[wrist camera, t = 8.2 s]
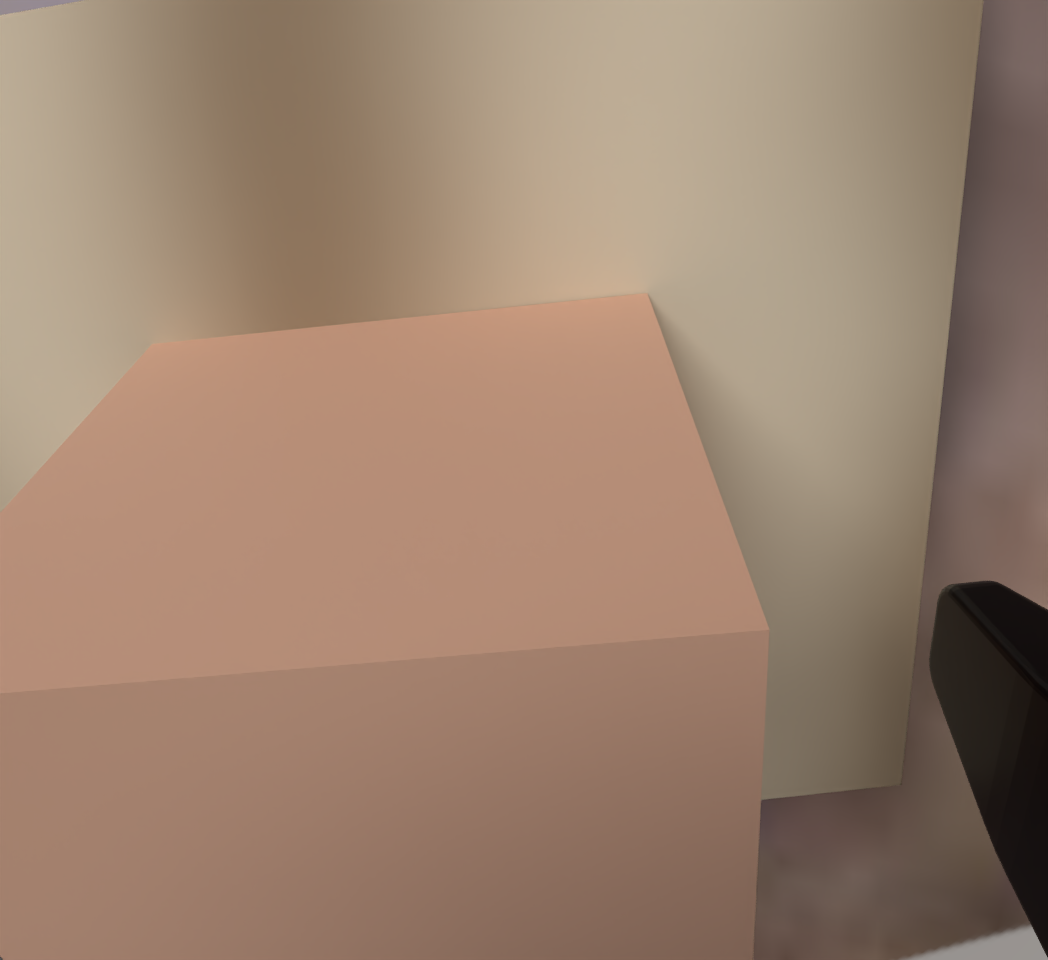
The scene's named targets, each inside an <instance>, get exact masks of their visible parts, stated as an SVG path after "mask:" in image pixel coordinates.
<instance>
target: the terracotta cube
mask: <svg viewBox="0 0 1048 960" xmlns="http://www.w3.org/2000/svg"><path fill="white" fill-rule="evenodd" d="M768 650H769V627H768V624H767V621H766V619H765V616H764V613H763V610H762V608H761V605H760V602H759V599H758V597H757V594H756V591H755V588H754V586H753V583H752V580H751V577H750V575H749V572H748V569H747V566H746V563H745V561H744V558H743V555H742V552H741V550H740V547H739V544H738V541H737V539H736V536H735V533H734V530H733V528H732V525H731V522H730V519H729V517H728V514H727V511H726V508H725V506H724V503H723V500H722V497H721V495H720V492H719V489H718V486H717V484H716V481H715V478H714V475H713V473H712V470H711V467H710V464H709V462H708V459H707V456H706V453H705V451H704V448H703V445H702V442H701V440H700V437H699V434H698V431H697V428H696V426H695V423H694V420H693V417H692V415H691V412H690V409H689V406H688V404H687V401H686V398H685V395H684V393H683V390H682V387H681V384H680V382H679V379H678V376H677V373H676V371H675V368H674V365H673V362H672V360H671V357H670V354H669V351H668V349H667V346H666V343H665V340H664V338H663V335H662V332H661V329H660V327H659V324H658V321H657V318H656V316H655V313H654V310H653V307H652V305H651V302H650V299H649V296H648V294H647V293H643V294H633V295H624V296H614V297H604V298H594V299H584V300H575V301H565V302H555V303H545V304H535V305H526V306H516V307H506V308H496V309H486V310H477V311H467V312H457V313H447V314H437V315H428V316H418V317H408V318H398V319H388V320H379V321H369V322H359V323H349V324H340V325H330V326H320V327H311V328H301V329H292V330H282V331H272V332H263V333H253V334H244V335H234V336H224V337H215V338H205V339H196V340H186V341H176V342H167V343H157V344H152V345H151V346H150V347H149V348H148V349H147V350H146V351H145V353H144V354H143V355H142V356H141V357H140V358H139V359H138V360H137V361H136V363H135V364H134V365H133V366H132V367H131V368H130V369H129V370H128V371H127V373H126V374H125V375H124V376H123V377H122V378H121V379H120V380H119V381H118V383H117V384H116V385H115V386H114V387H113V388H112V389H111V390H110V391H109V393H108V394H107V395H106V396H105V397H104V398H103V399H102V400H101V401H100V403H99V404H98V405H97V406H96V407H95V408H94V409H93V410H92V411H91V413H90V414H89V415H88V416H87V417H86V418H85V419H84V420H83V421H82V423H81V424H80V425H79V426H78V427H77V428H76V429H75V430H74V431H73V433H72V434H71V435H70V436H69V437H68V438H67V439H66V440H65V441H64V443H63V444H62V445H61V446H60V447H59V448H58V449H57V450H56V451H55V453H54V454H53V455H52V456H51V457H50V458H49V459H48V460H47V461H46V463H45V464H44V465H43V466H42V467H41V468H40V469H39V470H38V471H37V473H36V474H35V475H34V476H33V477H32V478H31V479H30V480H29V481H28V483H27V484H26V485H25V486H24V487H23V488H22V489H21V490H20V491H19V493H18V494H17V495H16V496H15V497H14V498H13V499H12V500H11V501H10V503H9V504H8V505H7V506H6V507H5V508H4V509H3V510H2V511H1V513H0V956H1V957H2V959H3V960H753V952H754V932H755V911H756V891H757V871H758V851H759V831H760V811H761V791H762V771H763V751H764V731H765V711H766V690H767V670H768Z"/></svg>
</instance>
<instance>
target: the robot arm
mask: <svg viewBox="0 0 1048 960" xmlns="http://www.w3.org/2000/svg"><path fill="white" fill-rule="evenodd" d="M929 662H930V673H931V678H932V682H933V685H934V688H935V691H936V694H937V696H938V699H939V702H940V705H941V707H942V710H943V713H944V715H945V718H946V721H947V724H948V726H949V729H950V732H951V734H952V737H953V740H954V743H955V745H956V748H957V751H958V753H959V756H960V759H961V762H962V764H963V767H964V770H965V772H966V775H967V778H968V781H969V783H970V786H971V789H972V791H973V794H974V797H975V800H976V802H977V805H978V808H979V810H980V813H981V816H982V819H983V821H984V824H985V826H986V829H987V831H988V834H989V836H990V839H991V841H992V844H993V847H994V849H995V851H996V854H997V856H998V858H999V860H1000V862H1001V864H1002V866H1003V868H1004V871H1005V873H1006V875H1007V877H1008V879H1009V881H1010V883H1011V885H1012V887H1013V889H1014V891H1015V893H1016V895H1017V897H1018V899H1019V901H1020V903H1021V905H1022V907H1023V909H1024V911H1025V913H1026V915H1027V917H1028V919H1029V921H1030V923H1031V925H1032V927H1033V929H1034V931H1035V933H1036V935H1037V937H1038V939H1039V941H1040V943H1041V945H1042V947H1043V949H1044V951H1045V953H1046V955H1047V957H1048V610H1047V609H1045V608H1044V607H1042V606H1040V605H1038V604H1036V603H1035V602H1033V601H1031V600H1029V599H1028V598H1026V597H1024V596H1022V595H1020V594H1019V593H1017V592H1015V591H1013V590H1011V589H1010V588H1008V587H1006V586H1004V585H1002V584H1000V583H998V582H994V581H979V582H969V583H960V584H951V585H948V586H947V587H945V588H944V589H943V590H942V591H941V593H940V595H939V598H938V602H937V609H936V616H935V623H934V630H933V636H932V643H931V650H930V658H929Z"/></svg>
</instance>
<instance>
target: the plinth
mask: <svg viewBox="0 0 1048 960" xmlns="http://www.w3.org/2000/svg"><path fill="white" fill-rule="evenodd" d="M983 1H984V0H84V1H78V2H73V3H67V4H61V5H56V6H50V7H44V8H39V9H33V10H27V11H22V12H16V13H10V14H5V15H0V513H1V511H2V510H3V509H4V508H5V507H6V506H7V505H8V504H9V503H10V501H11V500H12V499H13V498H14V497H15V496H16V495H17V494H18V493H19V491H20V490H21V489H22V488H23V487H24V486H25V485H26V484H27V483H28V481H29V480H30V479H31V478H32V477H33V476H34V475H35V474H36V473H37V471H38V470H39V469H40V468H41V467H42V466H43V465H44V464H45V463H46V461H47V460H48V459H49V458H50V457H51V456H52V455H53V454H54V453H55V451H56V450H57V449H58V448H59V447H60V446H61V445H62V444H63V443H64V441H65V440H66V439H67V438H68V437H69V436H70V435H71V434H72V433H73V431H74V430H75V429H76V428H77V427H78V426H79V425H80V424H81V423H82V421H83V420H84V419H85V418H86V417H87V416H88V415H89V414H90V413H91V411H92V410H93V409H94V408H95V407H96V406H97V405H98V404H99V403H100V401H101V400H102V399H103V398H104V397H105V396H106V395H107V394H108V393H109V391H110V390H111V389H112V388H113V387H114V386H115V385H116V384H117V383H118V381H119V380H120V379H121V378H122V377H123V376H124V375H125V374H126V373H127V371H128V370H129V369H130V368H131V367H132V366H133V365H134V364H135V363H136V361H137V360H138V359H139V358H140V357H141V356H142V355H143V354H144V353H145V351H146V350H147V349H148V348H149V347H150V346H151V345H152V344H157V343H167V342H176V341H186V340H196V339H205V338H215V337H224V336H234V335H244V334H253V333H263V332H272V331H282V330H292V329H301V328H311V327H320V326H330V325H340V324H349V323H359V322H369V321H379V320H388V319H398V318H408V317H418V316H428V315H437V314H447V313H457V312H467V311H477V310H486V309H496V308H506V307H516V306H526V305H535V304H545V303H555V302H565V301H575V300H584V299H594V298H604V297H614V296H624V295H633V294H643V293H647V294H648V296H649V299H650V302H651V305H652V307H653V310H654V313H655V316H656V318H657V321H658V324H659V327H660V329H661V332H662V335H663V338H664V340H665V343H666V346H667V349H668V351H669V354H670V357H671V360H672V362H673V365H674V368H675V371H676V373H677V376H678V379H679V382H680V384H681V387H682V390H683V393H684V395H685V398H686V401H687V404H688V406H689V409H690V412H691V415H692V417H693V420H694V423H695V426H696V428H697V431H698V434H699V437H700V440H701V442H702V445H703V448H704V451H705V453H706V456H707V459H708V462H709V464H710V467H711V470H712V473H713V475H714V478H715V481H716V484H717V486H718V489H719V492H720V495H721V497H722V500H723V503H724V506H725V508H726V511H727V514H728V517H729V519H730V522H731V525H732V528H733V530H734V533H735V536H736V539H737V541H738V544H739V547H740V550H741V552H742V555H743V558H744V561H745V563H746V566H747V569H748V572H749V575H750V577H751V580H752V583H753V586H754V588H755V591H756V594H757V597H758V599H759V602H760V605H761V608H762V610H763V613H764V616H765V619H766V621H767V624H768V627H769V650H768V670H767V690H766V711H765V731H764V751H763V771H762V791H761V800H765V799H774V798H784V797H793V796H802V795H812V794H821V793H830V792H840V791H849V790H858V789H868V788H877V787H886V786H896V785H901V782H902V773H903V763H904V754H905V744H906V735H907V725H908V715H909V706H910V696H911V687H912V677H913V668H914V658H915V649H916V639H917V630H918V620H919V611H920V601H921V592H922V582H923V572H924V563H925V553H926V544H927V534H928V525H929V515H930V506H931V496H932V487H933V477H934V468H935V458H936V449H937V439H938V430H939V420H940V410H941V401H942V391H943V382H944V372H945V363H946V353H947V344H948V334H949V325H950V315H951V306H952V296H953V287H954V277H955V267H956V258H957V248H958V239H959V229H960V220H961V210H962V201H963V191H964V182H965V172H966V163H967V153H968V144H969V134H970V124H971V115H972V105H973V96H974V86H975V77H976V67H977V58H978V48H979V39H980V29H981V20H982V10H983Z"/></svg>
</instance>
